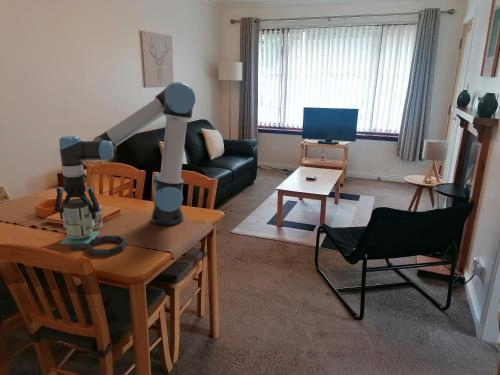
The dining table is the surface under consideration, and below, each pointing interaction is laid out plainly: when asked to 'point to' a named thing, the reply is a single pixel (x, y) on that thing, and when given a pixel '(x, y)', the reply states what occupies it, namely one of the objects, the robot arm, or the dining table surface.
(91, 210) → the robot arm
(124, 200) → the dining table surface
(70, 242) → the teal pad
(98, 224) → the teacup with lid
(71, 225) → the coffee can
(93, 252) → the ring
